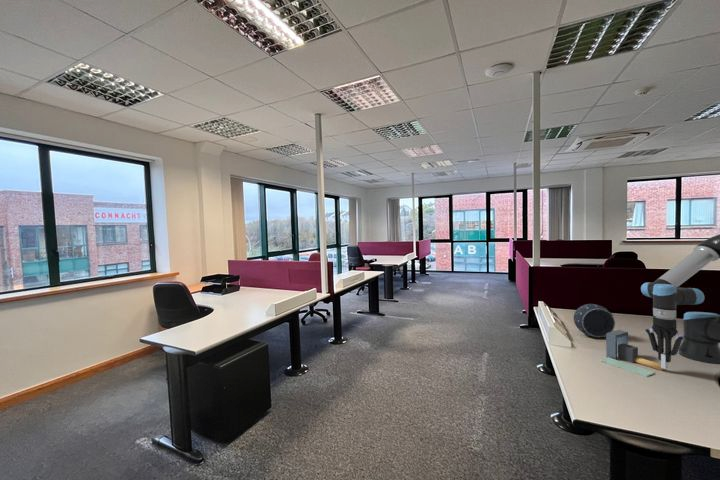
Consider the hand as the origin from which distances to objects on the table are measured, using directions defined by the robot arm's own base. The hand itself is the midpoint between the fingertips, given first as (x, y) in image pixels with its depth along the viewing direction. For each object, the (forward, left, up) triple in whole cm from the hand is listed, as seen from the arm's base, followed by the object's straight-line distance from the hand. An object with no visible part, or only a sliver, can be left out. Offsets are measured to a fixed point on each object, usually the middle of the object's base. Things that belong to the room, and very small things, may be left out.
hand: (664, 367), depth 135 cm
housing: (0, -18, -2) cm, 18 cm away
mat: (+10, -10, -2) cm, 14 cm away
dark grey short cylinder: (-22, -41, -2) cm, 46 cm away
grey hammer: (0, -9, -2) cm, 9 cm away
